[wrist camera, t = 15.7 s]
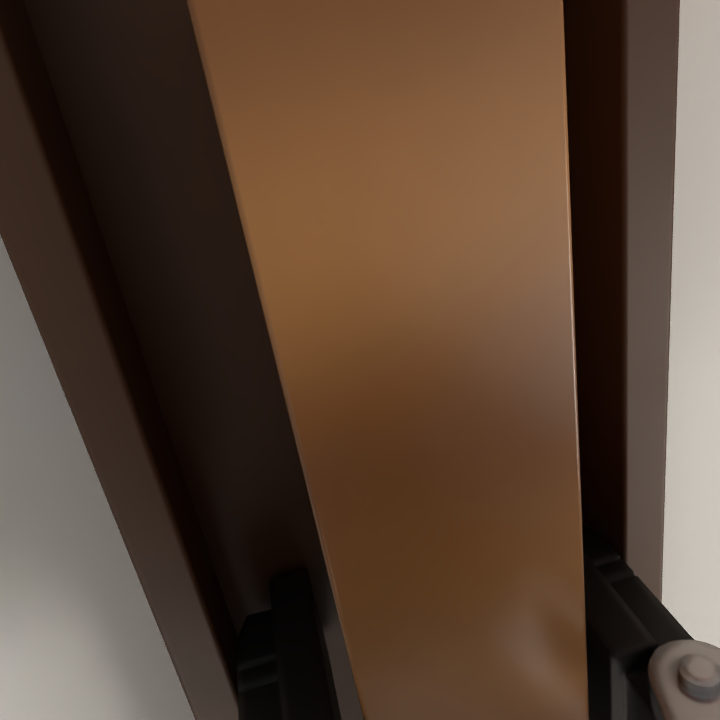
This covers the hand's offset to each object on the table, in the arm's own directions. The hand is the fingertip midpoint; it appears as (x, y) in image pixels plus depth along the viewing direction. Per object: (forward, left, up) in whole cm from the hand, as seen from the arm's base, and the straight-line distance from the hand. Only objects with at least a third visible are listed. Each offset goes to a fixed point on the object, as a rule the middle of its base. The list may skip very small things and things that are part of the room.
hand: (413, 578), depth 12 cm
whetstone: (0, 0, 0) cm, 0 cm away
